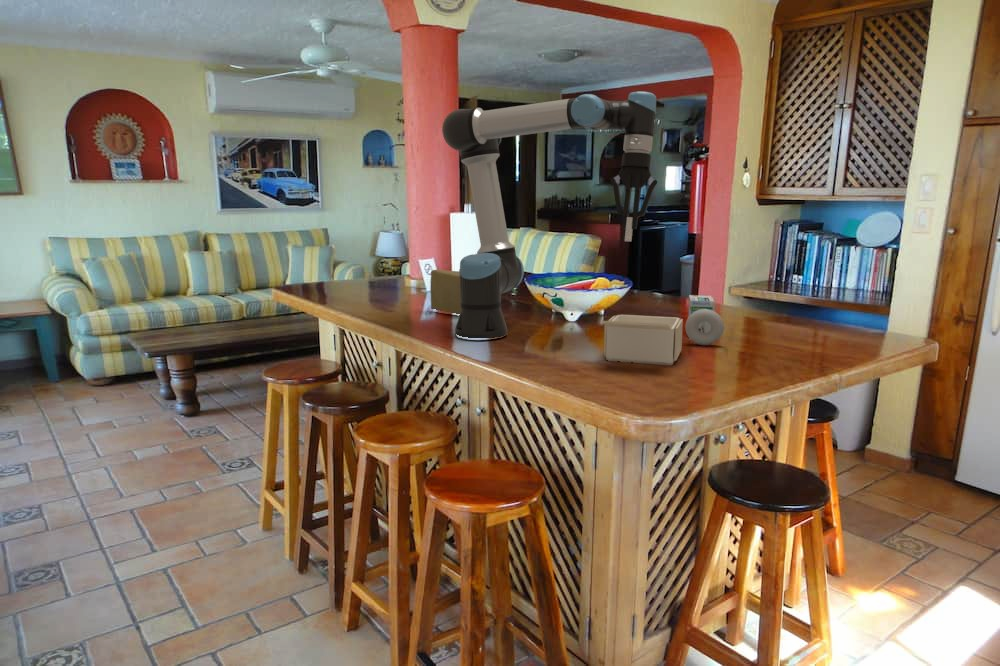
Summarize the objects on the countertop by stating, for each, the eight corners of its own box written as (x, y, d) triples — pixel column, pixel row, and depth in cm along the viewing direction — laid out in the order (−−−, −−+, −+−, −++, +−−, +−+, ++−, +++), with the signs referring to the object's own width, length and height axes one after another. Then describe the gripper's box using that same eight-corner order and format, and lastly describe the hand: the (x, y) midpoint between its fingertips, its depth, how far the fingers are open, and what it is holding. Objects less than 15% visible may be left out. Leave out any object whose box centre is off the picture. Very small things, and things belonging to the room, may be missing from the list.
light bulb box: (714, 339, 193) (716, 301, 191) (689, 338, 194) (691, 300, 192) (710, 331, 203) (712, 295, 201) (687, 330, 204) (688, 294, 202)
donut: (684, 345, 185) (685, 309, 183) (684, 342, 188) (686, 306, 186) (723, 348, 182) (725, 310, 180) (723, 345, 185) (725, 308, 183)
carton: (602, 360, 171) (603, 324, 169) (614, 347, 184) (615, 314, 183) (675, 365, 165) (677, 329, 163) (682, 351, 178) (683, 317, 176)
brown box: (422, 314, 237) (421, 270, 234) (441, 309, 245) (439, 267, 242) (474, 320, 225) (473, 274, 221) (491, 315, 232) (490, 271, 229)
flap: (608, 326, 168) (601, 322, 160) (608, 324, 168) (601, 320, 160) (671, 330, 163) (667, 326, 155) (671, 328, 163) (667, 324, 155)
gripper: (610, 150, 183) (601, 239, 187) (660, 152, 179) (650, 243, 183) (615, 153, 190) (606, 239, 194) (663, 155, 186) (653, 243, 190)
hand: (628, 241), depth 188 cm, fingers closed
